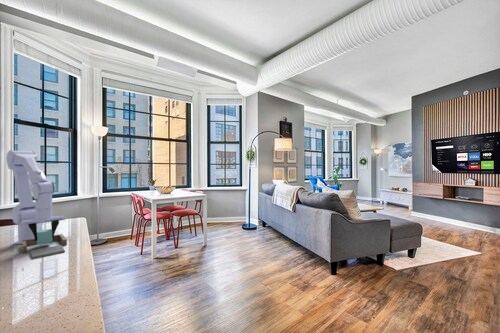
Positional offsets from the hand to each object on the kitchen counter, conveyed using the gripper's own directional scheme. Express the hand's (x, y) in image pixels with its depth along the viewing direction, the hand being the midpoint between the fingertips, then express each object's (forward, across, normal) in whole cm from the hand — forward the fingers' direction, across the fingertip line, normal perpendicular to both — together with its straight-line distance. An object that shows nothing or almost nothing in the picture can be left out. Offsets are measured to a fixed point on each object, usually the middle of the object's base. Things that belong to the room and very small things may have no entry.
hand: (44, 238), depth 108 cm
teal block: (+2, 0, 0) cm, 2 cm away
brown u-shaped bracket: (+3, 0, 0) cm, 3 cm away
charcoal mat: (+3, 0, -12) cm, 12 cm away
